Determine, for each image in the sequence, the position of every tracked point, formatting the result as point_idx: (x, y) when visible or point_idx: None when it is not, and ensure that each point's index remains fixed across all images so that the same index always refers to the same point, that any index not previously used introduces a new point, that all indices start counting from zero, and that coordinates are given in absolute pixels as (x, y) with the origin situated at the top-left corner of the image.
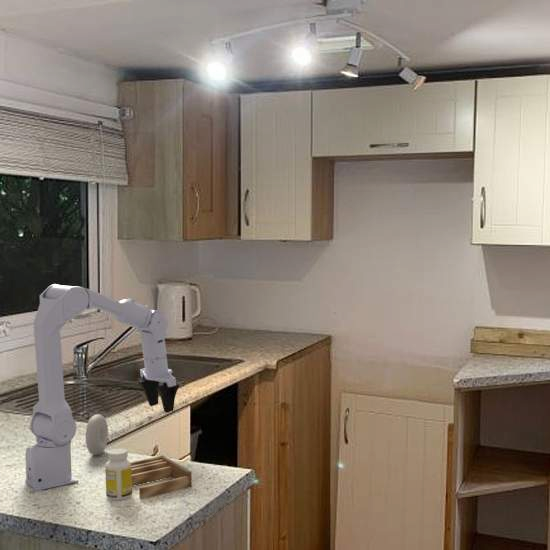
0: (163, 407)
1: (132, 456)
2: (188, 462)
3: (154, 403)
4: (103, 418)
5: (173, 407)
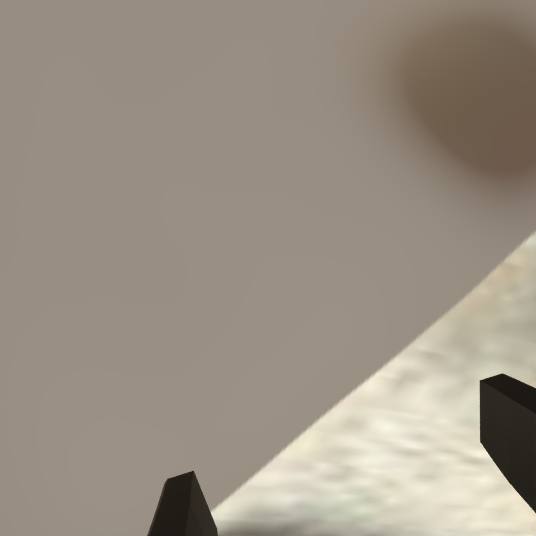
0: (528, 496)
1: (324, 446)
2: (529, 248)
3: (205, 517)
4: None
5: (533, 387)
